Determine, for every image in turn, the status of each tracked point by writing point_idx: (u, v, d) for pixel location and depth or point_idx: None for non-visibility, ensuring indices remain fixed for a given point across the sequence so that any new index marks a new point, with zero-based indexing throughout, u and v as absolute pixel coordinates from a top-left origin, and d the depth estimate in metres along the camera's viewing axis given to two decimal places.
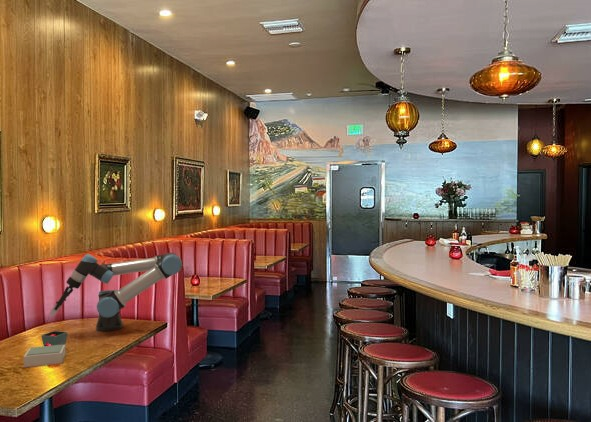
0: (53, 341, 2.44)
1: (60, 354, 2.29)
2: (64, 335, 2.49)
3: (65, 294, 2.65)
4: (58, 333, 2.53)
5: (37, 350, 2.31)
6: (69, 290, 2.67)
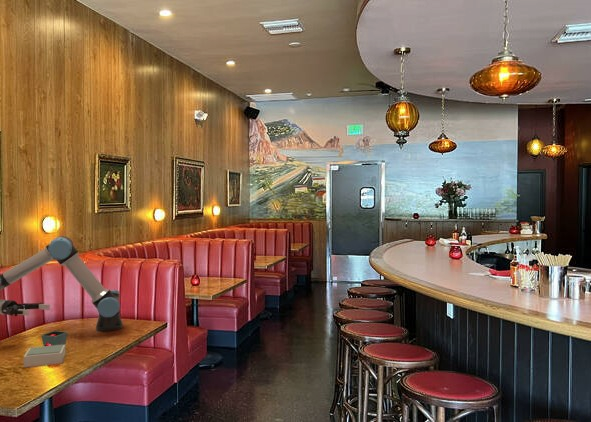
0: (53, 341, 2.44)
1: (60, 354, 2.29)
2: (64, 335, 2.49)
3: (7, 311, 2.47)
4: (58, 333, 2.53)
5: (37, 350, 2.31)
6: (4, 310, 2.49)
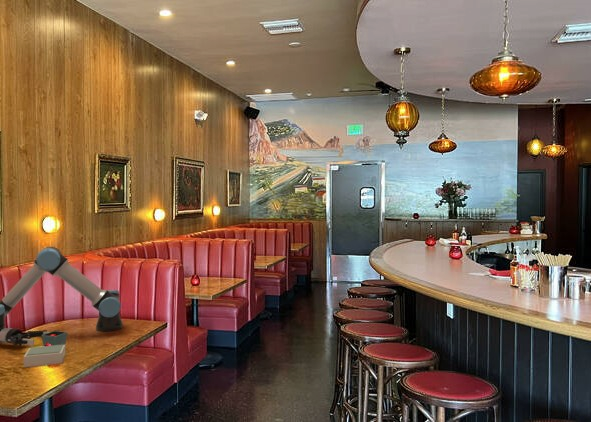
0: (53, 341, 2.44)
1: (60, 354, 2.29)
2: (64, 335, 2.49)
3: (11, 341, 2.46)
4: (58, 333, 2.53)
5: (37, 350, 2.31)
6: (8, 339, 2.48)
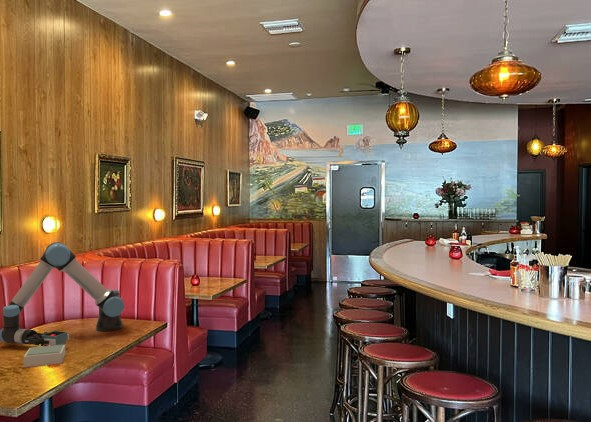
0: None
1: (60, 354, 2.29)
2: (64, 335, 2.49)
3: (30, 342, 2.44)
4: (58, 333, 2.53)
5: (37, 350, 2.31)
6: (26, 340, 2.45)
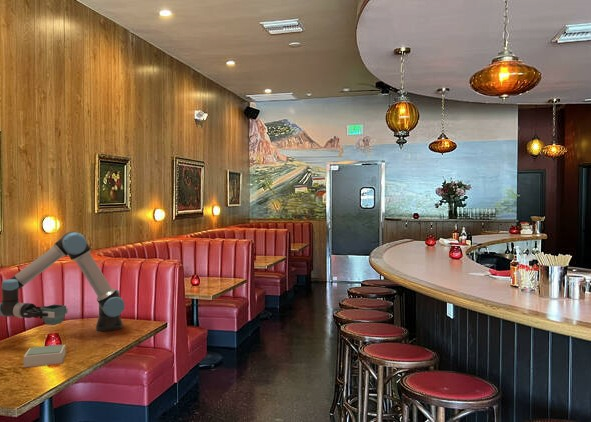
0: None
1: (60, 354, 2.29)
2: (63, 308, 2.49)
3: (29, 314, 2.44)
4: (57, 307, 2.52)
5: (37, 350, 2.31)
6: (25, 313, 2.44)
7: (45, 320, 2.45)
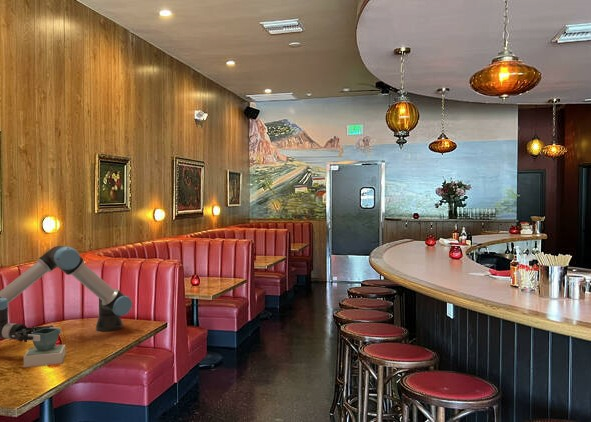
0: (44, 339, 2.28)
1: (60, 354, 2.29)
2: (56, 332, 2.34)
3: (15, 337, 2.28)
4: (49, 330, 2.37)
5: (37, 350, 2.31)
6: (12, 335, 2.29)
7: (36, 345, 2.30)
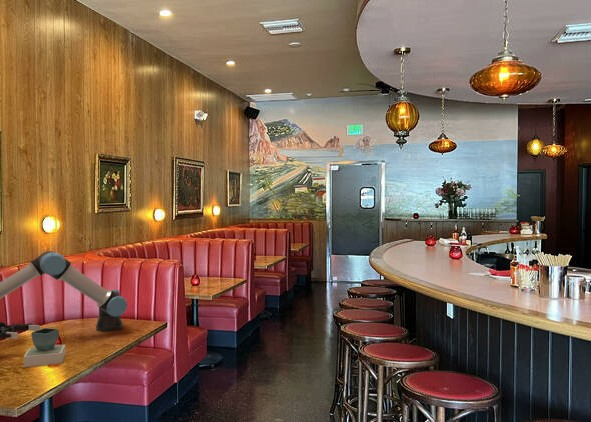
0: (44, 339, 2.28)
1: (60, 354, 2.29)
2: (56, 332, 2.34)
3: None
4: (49, 330, 2.37)
5: (37, 350, 2.31)
6: None
7: (36, 345, 2.30)
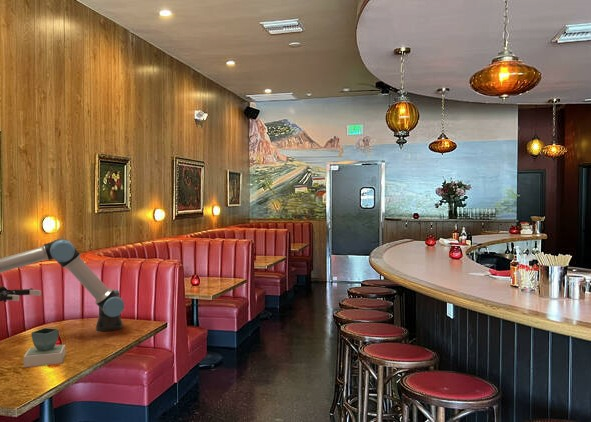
0: (44, 339, 2.28)
1: (60, 354, 2.29)
2: (56, 332, 2.34)
3: None
4: (49, 330, 2.37)
5: (37, 350, 2.31)
6: None
7: (36, 345, 2.30)
